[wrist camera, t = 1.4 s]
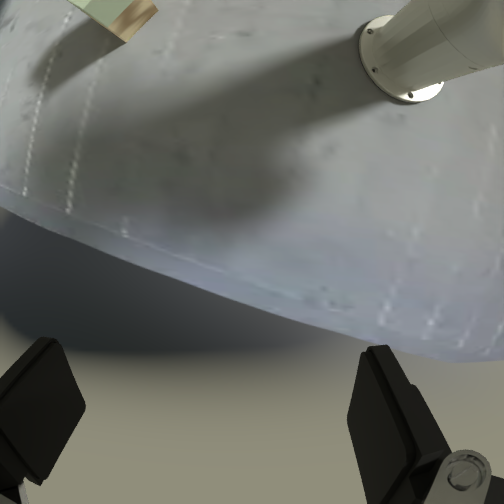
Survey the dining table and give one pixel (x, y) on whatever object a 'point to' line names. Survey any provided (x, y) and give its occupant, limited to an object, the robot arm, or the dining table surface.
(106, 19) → the block top
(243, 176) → the dining table surface
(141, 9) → the block bottom
